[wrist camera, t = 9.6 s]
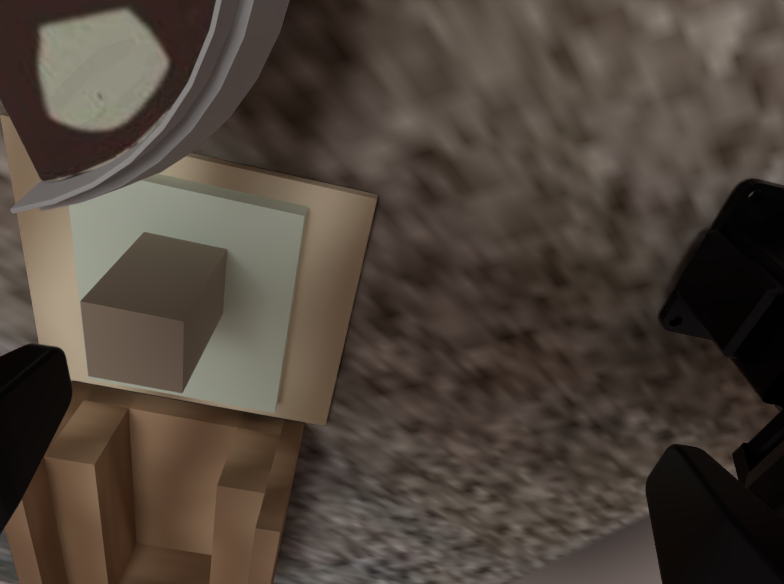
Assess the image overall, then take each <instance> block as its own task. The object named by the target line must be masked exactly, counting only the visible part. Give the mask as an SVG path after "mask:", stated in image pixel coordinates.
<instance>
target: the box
mask: <svg viewBox="0 0 784 584" xmlns="http://www.w3.org/2000/svg"><path fill="white" fill-rule="evenodd" d="M72 389H73V393H72V400H71V403H70V405H69V408H68V410H67V412H66V414H65V416H64V418H63V420H62V422H61V424H60V426H59V428H58V430H57V432H56V434H55V435H54V437H53V439H52V441H51V443H50V445H49V447H48V449H47V451H46V453H45V455H44V457H43V459H42V461H41V463H40V465H39V467H38V469H37V471H36V473H35V475H34V477H33V479H32V481H31V483H30V485H29V487H28V489H27V491H26V493H25V495H24V496H23V498H22V500H21V502H20V504H19V505H18V507H17V509H16V510H15V512H14V514H13V515H12V517H11V518H10V520H9V522H8V523H7V525H6V526H5V528H4V529H5V533H6V536H7V540H8V543H9V547H10V550H11V554H12V557H13V561H14V564H15V568H16V571H17V575H18V578H19V582H20V584H273V580H274V575H275V570H276V566H277V561H278V557H279V551H280V546H281V541H282V536H283V531H284V526H285V521H286V516H287V511H288V506H289V501H290V496H291V491H292V485H293V480H294V475H295V470H296V465H297V460H298V455H299V450H300V445H301V440H302V435H303V430H304V425H305V423H301V422H295V421H290V420H284V419H279V418H273V417H268V416H262V415H257V414H251V413H246V412H240V411H235V410H229V409H224V408H218V407H213V406H207V405H202V404H196V403H191V402H185V401H180V400H174V399H168V398H163V397H157V396H152V395H146V394H141V393H135V392H130V391H124V390H119V389H113V388H108V387H102V386H97V385H91V384H86V383H80V382H75V381H72Z"/></svg>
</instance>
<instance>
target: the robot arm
mask: <svg viewBox="0 0 784 584" xmlns="http://www.w3.org/2000/svg"><path fill="white" fill-rule="evenodd" d="M755 190H757V193H756V195H755V196H754V197H752V198H750V199H748V196H749V194H750V193H751V192H753V191H755ZM675 316H678V317H677V318H676V319H674V320H672V321H670V319H671V318H673V317H675ZM659 321H660V322H661V324H662V325H663V327H664V328H665V329H666V330H668V331H672V332H677V333H681V334H686V335H691V336H696V337H700V338H705V339H710V340H713V341H714V343H715V344H716V345H717V347H718V348H719V349H720V351H721V352H722V353H723V355H724V356H726V357H729V358H730V359H731V360H732V361H733V363H734V364H735V365H736V367H737V368H738V369H739V371H740V372H741V373H742V375H743V376H744V377H745V378H746V380H747V381H748V382H749V384H750V385H751V386H752V388H753V389H754V390H755V392H756V393H757V394H758V396H759V397H760V398H761V400H762V401H763V402H765V403H769V404H774V405H775V407H776V408H777V409H778V411H779V413H778V414H777V415H776V416H775V417H774V418H773V419H772V420H771V421H770V422H769V423H768V424H767V425H766V426H765V427H764V428H763V429H762V430H761V431H760V432H759V433H758V434H757V435H756V436H755V437H754V438H753V439H752V440H751V441H750V442H749V443H743V444H742V445H741V446H740V447H739V448H738V449H737V450H736V451H734V452H733V453H732V456H733V460H734V464H735V468H736V472H737V476H738V480H739V481H738V480H737V479H736V478H735V477H734V476H733V475H731V474H730V473H729V472H728V471H727V470H726V469H724V468H723V467H722V466H721V465H720V464H719V463H718V462H716V461H715V460H714V459H713V458H712V457H711V456H710V455H708V454H707V453H706V452H705V451H704V450H702V449H700V448H697V447H692V446H686V445H680V444H673V445H671V446H669V447H668V448H667V449H666V451H665V452H664V454H663V455H662V457H661V458H660V460H659V461H658V463H657V464H656V466H655V467H654V469H653V470H652V472H651V473H650V475H649V477H648V479H647V482H646V497H647V503H648V508H649V514H650V519H651V525H652V530H653V535H654V541H655V546H656V552H657V558H658V563H659V569H660V574H661V579H662V584H784V186H783V185H779V184H775V183H771V182H767V181H763V180H759V179H751V180H747V181H745V182H744V183H742V184H741V185H740V186H739V187H738V188H737V189H736V191H735V193H734V194H733V196H732V198H731V199H730V201H729V202H728V204H727V206H726V207H725V209H724V211H723V212H722V214H721V215H720V217H719V219H718V220H717V222H716V224H715V225H714V227H713V228H712V230H711V232H710V233H708V234H707V236H706V237H705V239H704V241H703V242H702V244H701V246H700V247H699V249H698V250H697V252H696V254H695V255H694V257H693V259H692V260H691V262H690V263H689V265H688V267H687V268H686V270H685V272H684V273H683V275H682V277H681V278H680V280H679V281H678V283H677V285H676V288H675V290H674V292H673V293H672V295H671V297H670V298H669V300H668V301H667V303H666V305H665V306H664V308H663V310H662V311H661V313H660V315H659ZM72 393H73V389H72V383H71V378H70V374H69V369H68V364H67V359H66V355H65V352H64V351H63V350H62V349H61V348H59V347H56V346H50V345H43V344H37V343H31V344H27V345H25V346H22V347H20V348H18V349H16V350H13V351H11V352H9V353H7V354H5V355H2V356H0V534H1V533H2V531H3V529H4V528H5V526H6V525H7V523H8V522H9V520H10V518H11V517H12V515H13V514H14V512H15V510H16V509H17V507H18V505H19V504H20V502H21V500H22V498H23V496H24V495H25V493H26V491H27V489H28V487H29V485H30V483H31V481H32V479H33V477H34V475H35V473H36V471H37V469H38V467H39V465H40V463H41V461H42V459H43V457H44V455H45V453H46V451H47V449H48V447H49V445H50V443H51V441H52V439H53V437H54V435H55V434H56V432H57V430H58V428H59V426H60V424H61V422H62V420H63V418H64V416H65V414H66V412H67V410H68V408H69V405H70V403H71V400H72Z"/></svg>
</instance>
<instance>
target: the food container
mask: <svg viewBox="0 0 784 584" xmlns="http://www.w3.org/2000/svg"><path fill="white" fill-rule="evenodd" d="M289 1H290V0H0V99H1V101H2V103H3V105H4V107H5V109H6V111H7V113H8V115H9V117H10V119H11V121H12V123H13V125H14V127H15V129H16V131H17V133H18V135H19V137H20V139H21V141H22V143H23V145H24V147H25V149H26V151H27V153H28V155H29V157H30V159H31V161H32V163H33V165H34V167H35V169H36V171H37V173H38V175H39V177H40V179H41V181H40V182H39V183H38V184H37V185H36V186H35V187H34V188H32V189H31V190H30V191H29V192H28V193H27V194H26V195H25V196H24V197H23V198H22V199H20V200H19V201H18V202H17V203H16V204H15V205H14V206H13V207H12V208H11V209H10V210H11V212H12V213H17V212H21V211H26V210H30V209H34V208H39V210H40V211H44V210H49V209H54V208H59V207H64V206H68V205H73V204H78V203H82V202H85V201H87V200H90V199H93V198H96V197H98V196H101V195H104V194H107V193H109V192H112V191H115V190H118V189H120V188H123V187H126V186H128V185H131V184H133V183H135V182H138V181H140V180H143V179H145V178H148V177H150V176H153V175H155V174H158V173H160V172H162V171H164V170H165V169H167V168H169V167H170V166H172V165H173V164H175V163H176V162H178V161H179V160H181V159H182V158H184V157H186V156H187V155H189V154H190V153H192V152H193V151H195V150H196V149H198V148H199V147H200V146H201V145H202V144H203V143H204V142H205V141H206V140H207V139H208V138H209V137H210V136H211V135H212V134H214V133H215V132H216V131H217V130H218V129H219V128H220V127H221V126H222V125H223V124H224V123H225V122H226V121H227V120H228V119H229V118H230V117H231V115H232V114H233V113H234V111H235V110H236V108H237V107H238V106H239V104H240V103H241V102H242V100H243V99H244V97H245V96H246V95H247V93H248V92H249V90H250V89H251V88H252V86H253V85H254V83H255V82H256V81H257V79H258V77H259V75H260V73H261V71H262V69H263V67H264V65H265V63H266V60H267V58H268V56H269V54H270V52H271V50H272V48H273V46H274V44H275V42H276V40H277V38H278V36H279V33H280V31H281V28H282V24H283V21H284V18H285V14H286V11H287V8H288V4H289Z"/></svg>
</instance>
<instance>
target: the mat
mask: <svg viewBox="0 0 784 584" xmlns="http://www.w3.org/2000/svg"><path fill="white" fill-rule="evenodd" d="M0 117H1V123H2V129H3V135H4V140H5V146H6V152H7V158H8V164H9V170H10V176H11V182H12V188H13V193H14V199H15V204H16V203H17V202H18V201H19V200H20V199H22V198H23V197H24V196H25V195H26V194H27V193H28V192H29V191H30V190H31V189H32V188H34V187H35V186H36V185H37V184H38V183H39V182H40V181H41V179H40V177H39V175H38V173H37V171H36V169H35V167H34V165H33V163H32V161H31V159H30V157H29V155H28V153H27V151H26V149H25V147H24V145H23V143H22V141H21V139H20V137H19V135H18V133H17V131H16V129H15V127H14V125H13V123H12V121H11V119H10V117H9V115H8V113H7V112H5V113H3V114H1V115H0ZM158 174H162V175H167V176H171V177H176V178H180V179H185V180H189V181H194V182H199V183H203V184H208V185H212V186H217V187H221V188H226V189H230V190H235V191H239V192H244V193H248V194H253V195H258V196H262V197H267V198H271V199H276V200H280V201H285V202H289V203H294V204H298V205H303V206H308V212H307V219H306V225H305V231H304V238H303V244H302V251H301V257H300V264H299V270H298V277H297V283H296V290H295V296H294V303H293V309H292V316H291V322H290V329H289V335H288V342H287V348H286V355H285V361H284V368H283V374H282V381H281V387H280V394H279V400H278V404H277V407H276V411H275V413H272V412H266V411H261V410H255V409H250V408H244V407H239V406H233V405H228V404H222V403H217V402H211V401H206V400H201V399H195V398H190V397H184V396H179V395H173V394H168V393H162V392H157V391H151V390H146V389H140V388H135V387H129V386H124V385H118V384H113V383H107V382H102V381H96V380H91V379H88V375H87V366H86V356H85V347H84V338H83V329H82V320H81V311H80V302H79V293H78V284H77V275H76V266H75V257H74V248H73V239H72V230H71V221H70V212H69V205H68V206H64V207H59V208H54V209H49V210H44V211H40V210H39V208H34V209H30V210H26V211H21V212H17V217H18V223H19V229H20V235H21V240H22V246H23V252H24V258H25V264H26V270H27V276H28V282H29V288H30V293H31V299H32V305H33V311H34V317H35V323H36V329H37V335H38V340H39V344H43V345H50V346H56V347H59V348H61V349H62V350H63V351H64V352H65V355H66V359H67V364H68V369H69V374H70V378H71V380H74V381H80V382H85V383H91V384H96V385H102V386H107V387H113V388H118V389H124V390H129V391H135V392H140V393H146V394H151V395H157V396H162V397H168V398H173V399H179V400H185V401H190V402H196V403H201V404H207V405H212V406H218V407H223V408H229V409H234V410H240V411H245V412H251V413H256V414H262V415H267V416H273V417H278V418H284V419H289V420H295V421H300V422H306V423H311V424H317V425H322V426H326V421H327V417H328V413H329V408H330V404H331V399H332V395H333V391H334V386H335V382H336V378H337V373H338V369H339V364H340V360H341V356H342V351H343V347H344V342H345V338H346V334H347V329H348V325H349V321H350V316H351V312H352V307H353V303H354V299H355V294H356V290H357V285H358V281H359V277H360V272H361V268H362V264H363V259H364V255H365V250H366V246H367V242H368V237H369V233H370V228H371V224H372V220H373V215H374V211H375V206H376V202H377V197H378V195H377V194H372V193H368V192H363V191H359V190H355V189H350V188H346V187H341V186H337V185H332V184H328V183H323V182H319V181H314V180H310V179H306V178H301V177H297V176H292V175H288V174H283V173H279V172H274V171H270V170H265V169H261V168H257V167H252V166H248V165H243V164H239V163H234V162H230V161H225V160H221V159H216V158H212V157H208V156H203V155H199V154H194V153H190V154H189V155H187V156H186V157H184V158H182V159H181V160H179V161H178V162H176V163H175V164H173V165H172V166H170V167H169V168H167V169H165V170H164V171H162V172H160V173H158Z"/></svg>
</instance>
